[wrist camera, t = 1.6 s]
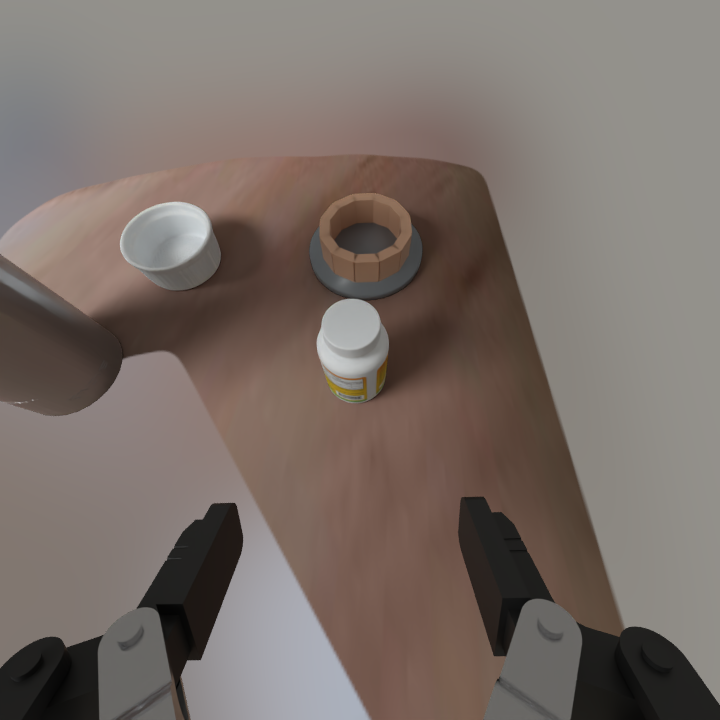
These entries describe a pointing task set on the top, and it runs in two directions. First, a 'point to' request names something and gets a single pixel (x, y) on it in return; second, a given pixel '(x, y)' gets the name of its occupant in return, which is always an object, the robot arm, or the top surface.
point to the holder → (365, 247)
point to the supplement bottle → (353, 350)
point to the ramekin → (172, 245)
